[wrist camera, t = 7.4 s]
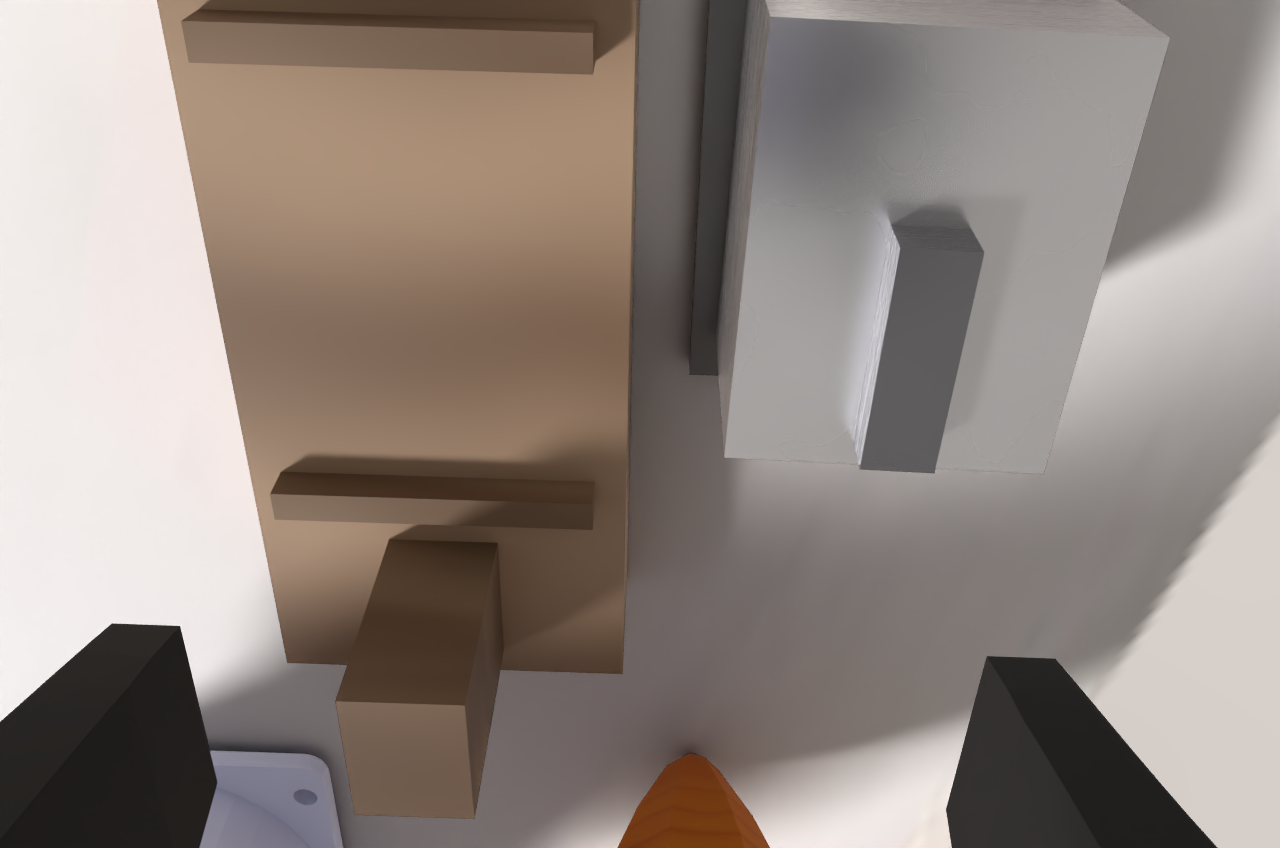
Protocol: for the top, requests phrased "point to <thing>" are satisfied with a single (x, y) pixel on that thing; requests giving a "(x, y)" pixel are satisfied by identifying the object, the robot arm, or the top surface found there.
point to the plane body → (425, 345)
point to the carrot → (692, 811)
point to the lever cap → (921, 224)
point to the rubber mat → (715, 174)
